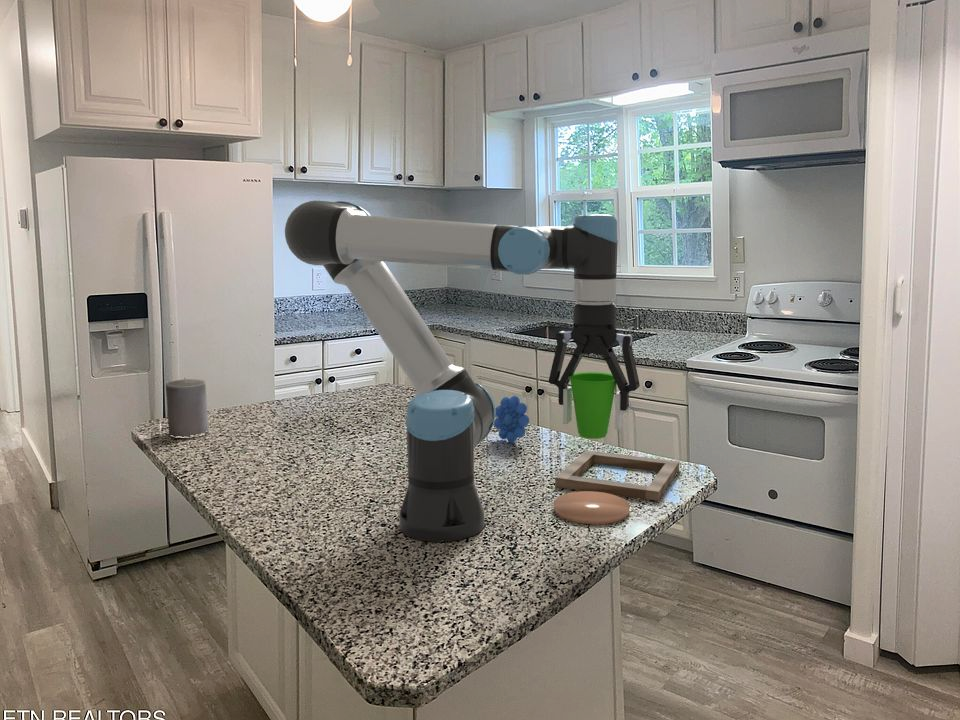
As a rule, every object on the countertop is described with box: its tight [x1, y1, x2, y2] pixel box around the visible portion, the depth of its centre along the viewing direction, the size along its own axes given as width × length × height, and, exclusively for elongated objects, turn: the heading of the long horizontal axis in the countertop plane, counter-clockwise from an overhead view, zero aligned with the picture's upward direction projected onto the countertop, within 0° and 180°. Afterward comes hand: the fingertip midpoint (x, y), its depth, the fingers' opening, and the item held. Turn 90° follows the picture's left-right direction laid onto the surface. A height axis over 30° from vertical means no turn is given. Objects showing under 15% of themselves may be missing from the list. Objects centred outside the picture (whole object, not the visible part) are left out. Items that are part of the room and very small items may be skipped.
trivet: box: [553, 490, 630, 525], centre depth 143 cm, size 14×14×1 cm
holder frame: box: [554, 450, 680, 502], centre depth 161 cm, size 21×21×2 cm
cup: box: [568, 371, 617, 440], centre depth 140 cm, size 9×9×11 cm
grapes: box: [493, 395, 530, 444], centre depth 188 cm, size 12×7×12 cm, turn 42°
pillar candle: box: [165, 377, 209, 436], centre depth 197 cm, size 10×10×15 cm
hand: (592, 424), depth 140 cm, fingers closed on cup, 9 cm apart
